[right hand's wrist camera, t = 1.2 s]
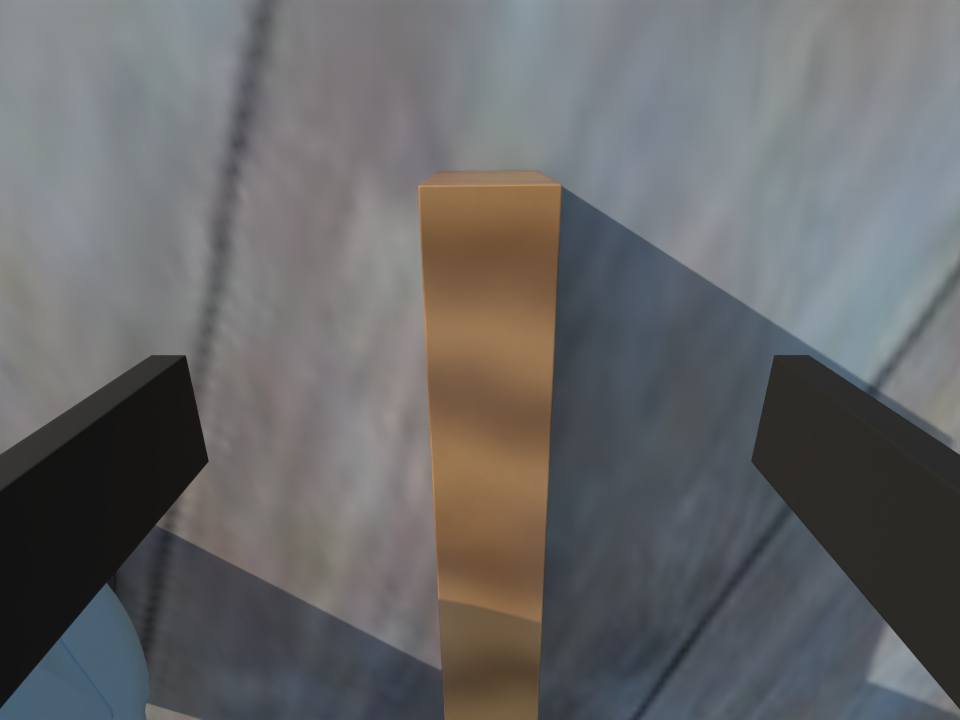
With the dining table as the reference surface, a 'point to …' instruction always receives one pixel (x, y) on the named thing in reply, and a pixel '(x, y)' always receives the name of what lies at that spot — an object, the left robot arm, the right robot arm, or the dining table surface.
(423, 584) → the dining table surface
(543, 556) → the post
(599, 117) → the dining table surface
